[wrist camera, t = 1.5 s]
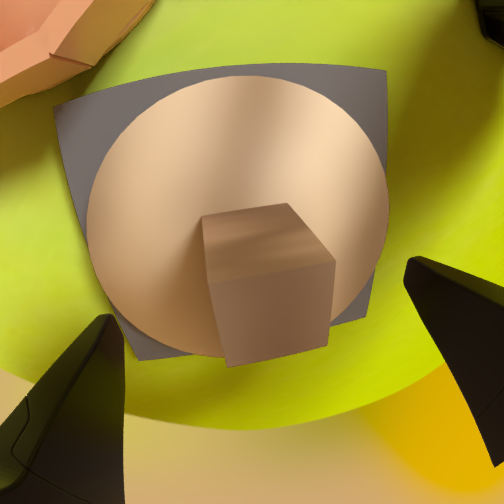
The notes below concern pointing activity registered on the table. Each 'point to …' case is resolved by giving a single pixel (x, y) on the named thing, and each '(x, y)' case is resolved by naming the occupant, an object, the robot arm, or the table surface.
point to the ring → (58, 40)
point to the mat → (156, 88)
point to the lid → (238, 218)
